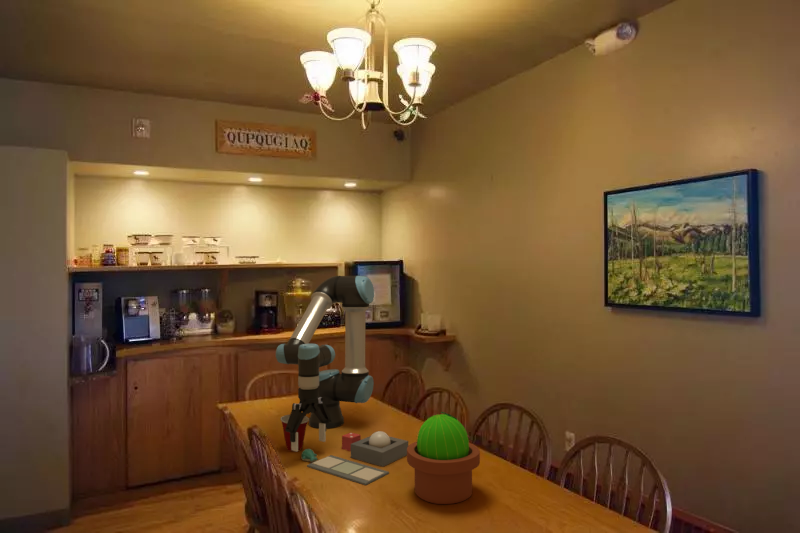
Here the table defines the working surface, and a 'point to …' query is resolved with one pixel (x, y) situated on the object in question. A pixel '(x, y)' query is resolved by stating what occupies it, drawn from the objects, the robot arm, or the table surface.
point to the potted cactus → (443, 460)
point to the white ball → (379, 439)
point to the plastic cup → (300, 431)
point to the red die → (349, 440)
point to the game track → (348, 469)
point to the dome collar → (379, 451)
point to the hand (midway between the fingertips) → (308, 445)
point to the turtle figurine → (308, 455)
